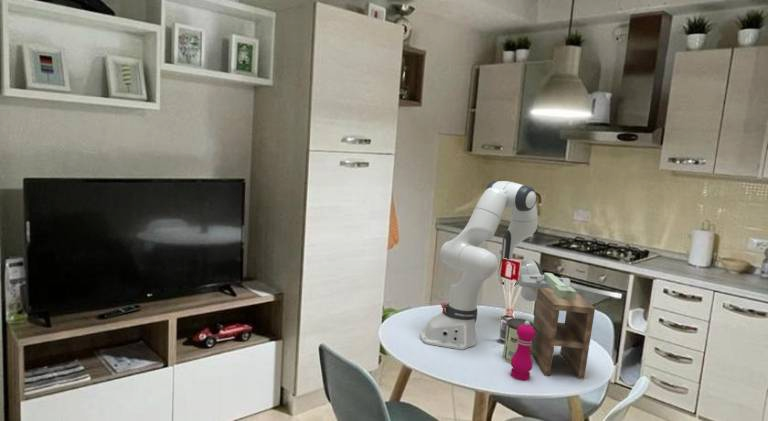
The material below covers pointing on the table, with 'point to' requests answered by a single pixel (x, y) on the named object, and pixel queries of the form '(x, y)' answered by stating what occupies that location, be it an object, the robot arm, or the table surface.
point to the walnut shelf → (562, 331)
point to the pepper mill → (523, 352)
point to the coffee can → (513, 338)
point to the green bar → (560, 287)
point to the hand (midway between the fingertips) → (550, 277)
